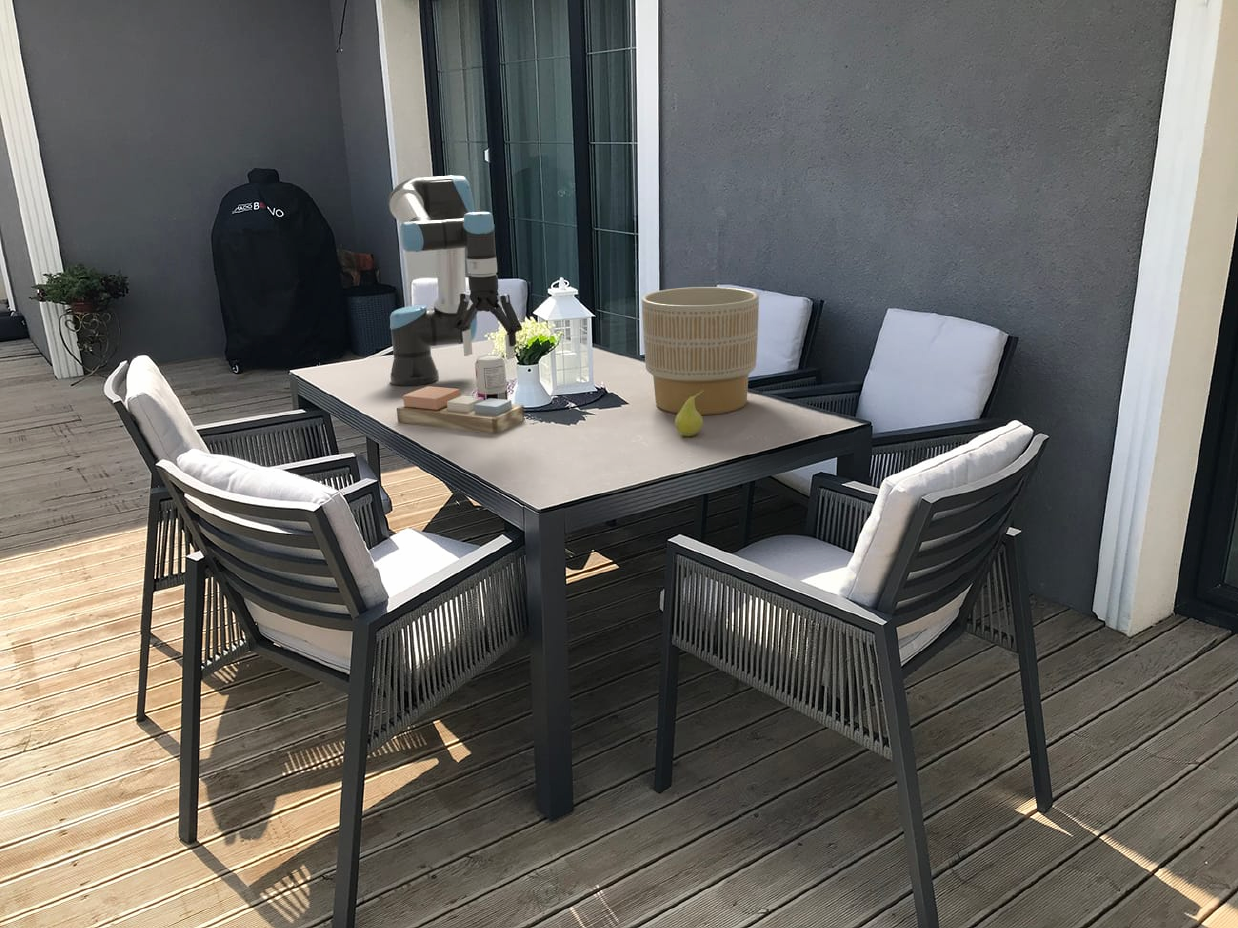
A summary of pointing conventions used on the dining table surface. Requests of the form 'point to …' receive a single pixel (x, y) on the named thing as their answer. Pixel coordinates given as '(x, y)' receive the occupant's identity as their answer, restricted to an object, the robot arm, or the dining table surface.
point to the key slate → (493, 406)
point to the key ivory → (463, 403)
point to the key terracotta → (430, 398)
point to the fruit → (689, 418)
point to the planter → (701, 346)
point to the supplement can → (491, 377)
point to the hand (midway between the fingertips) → (489, 356)
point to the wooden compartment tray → (462, 419)
